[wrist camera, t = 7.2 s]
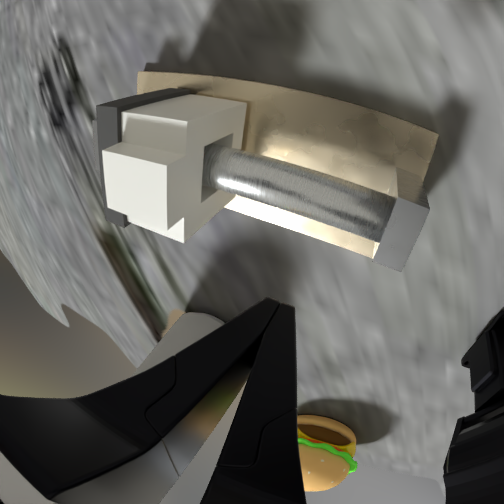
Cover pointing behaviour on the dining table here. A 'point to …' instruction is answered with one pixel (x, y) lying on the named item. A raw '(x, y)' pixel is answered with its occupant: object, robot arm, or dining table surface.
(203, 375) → the robot arm
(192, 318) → the can
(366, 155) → the beige mechanical fixture
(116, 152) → the bracket
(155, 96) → the block
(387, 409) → the dining table surface
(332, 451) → the hamburger
